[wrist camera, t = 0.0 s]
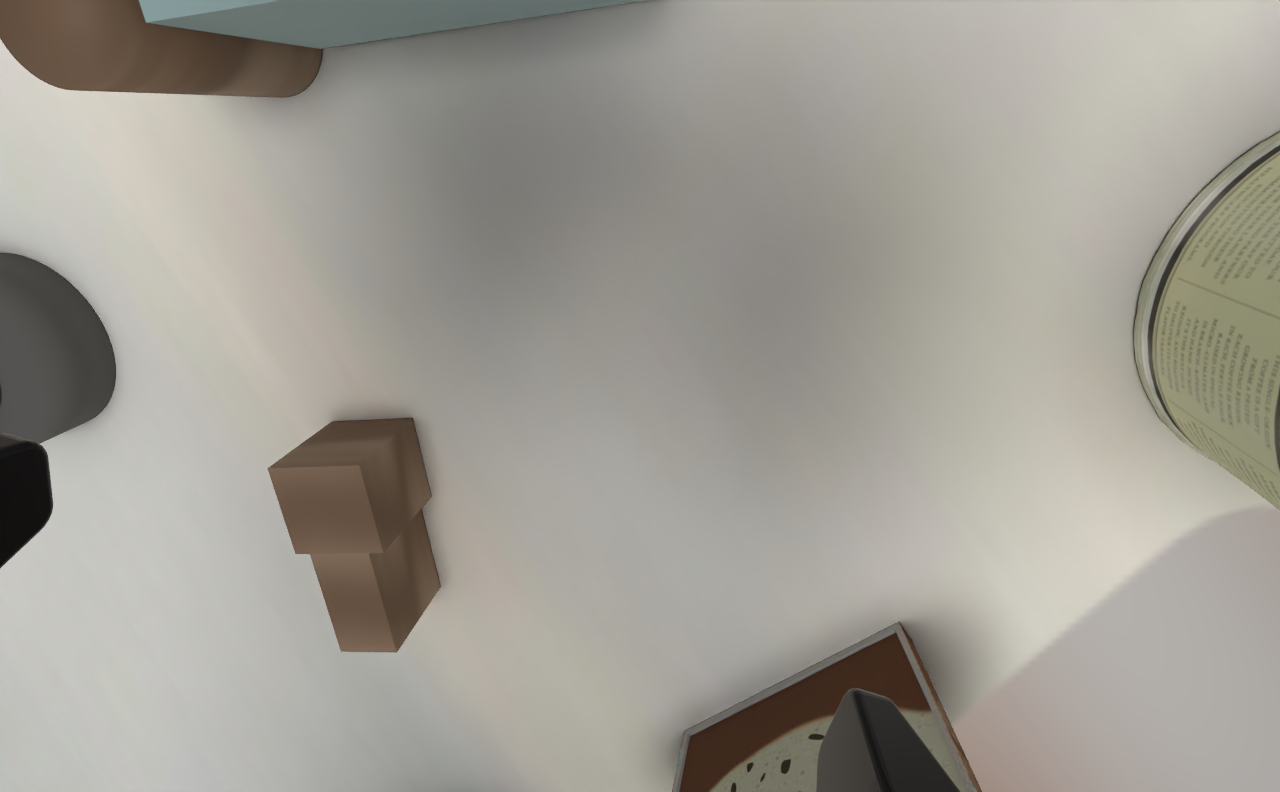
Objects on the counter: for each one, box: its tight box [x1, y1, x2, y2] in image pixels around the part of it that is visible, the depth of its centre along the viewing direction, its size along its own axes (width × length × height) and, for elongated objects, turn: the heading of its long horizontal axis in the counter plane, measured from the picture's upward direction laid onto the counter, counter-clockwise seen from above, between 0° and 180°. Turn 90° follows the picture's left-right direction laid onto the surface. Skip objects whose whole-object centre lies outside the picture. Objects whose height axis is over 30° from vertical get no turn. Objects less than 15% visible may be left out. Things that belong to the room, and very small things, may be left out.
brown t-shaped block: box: [0, 0, 440, 652], centre depth 20 cm, size 20×3×7 cm, turn 6°
